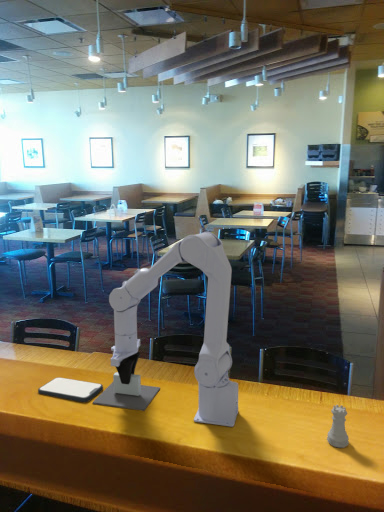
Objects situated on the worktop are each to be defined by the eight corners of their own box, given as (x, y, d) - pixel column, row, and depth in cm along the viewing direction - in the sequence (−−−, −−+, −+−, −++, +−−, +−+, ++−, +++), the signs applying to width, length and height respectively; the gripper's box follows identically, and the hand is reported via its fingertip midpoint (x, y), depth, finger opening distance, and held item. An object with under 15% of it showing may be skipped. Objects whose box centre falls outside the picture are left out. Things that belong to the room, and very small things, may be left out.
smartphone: (35, 395, 111) (86, 404, 105) (35, 389, 111) (85, 398, 105) (57, 381, 119) (105, 389, 114) (57, 376, 119) (104, 384, 113)
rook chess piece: (334, 434, 92) (336, 400, 90) (353, 443, 88) (355, 408, 87) (322, 441, 89) (324, 406, 88) (340, 451, 85) (342, 415, 84)
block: (140, 392, 109) (140, 375, 108) (138, 395, 107) (138, 377, 107) (116, 389, 111) (115, 372, 110) (113, 392, 109) (113, 374, 108)
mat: (160, 388, 113) (160, 387, 113) (144, 410, 102) (144, 409, 102) (113, 383, 117) (113, 381, 117) (92, 403, 105) (92, 402, 105)
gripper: (123, 322, 114) (124, 368, 116) (98, 340, 101) (100, 392, 103) (147, 324, 113) (147, 371, 115) (125, 342, 99) (126, 395, 101)
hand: (127, 381), depth 109 cm, fingers closed on block, 2 cm apart
